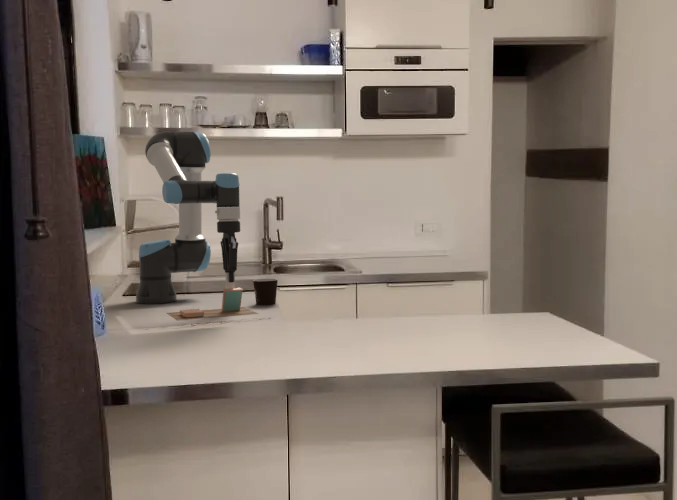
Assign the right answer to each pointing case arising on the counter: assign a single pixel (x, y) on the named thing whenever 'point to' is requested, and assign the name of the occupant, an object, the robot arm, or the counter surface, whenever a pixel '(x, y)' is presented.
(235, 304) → the tile
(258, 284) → the coffee mug
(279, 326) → the counter surface
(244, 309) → the board
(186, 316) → the tile
